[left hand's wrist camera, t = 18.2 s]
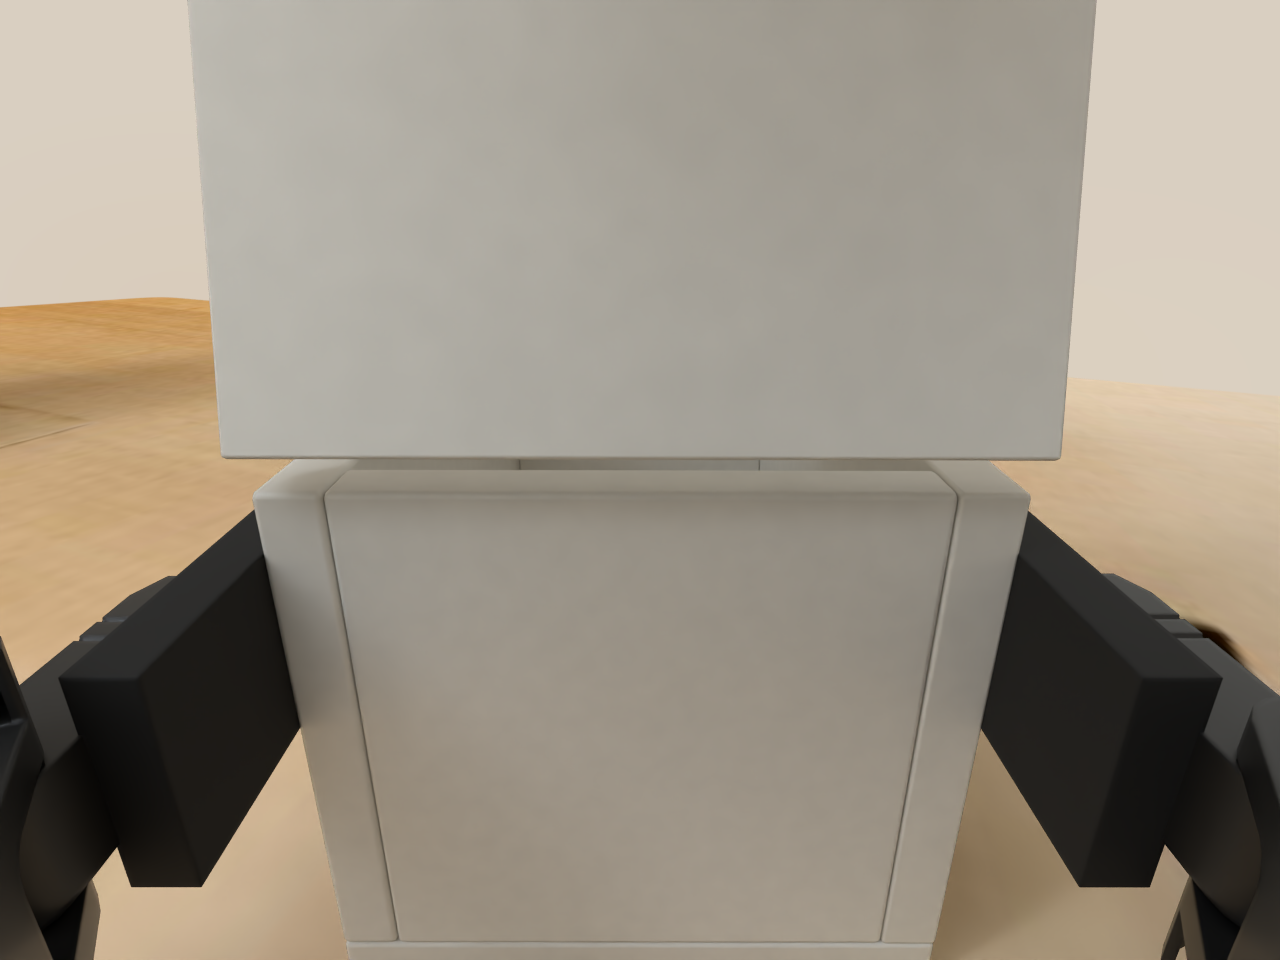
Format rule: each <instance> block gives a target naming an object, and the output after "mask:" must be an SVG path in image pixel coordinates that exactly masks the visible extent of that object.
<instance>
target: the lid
mask: <svg viewBox="0 0 1280 960" xmlns="http://www.w3.org/2000/svg"><path fill="white" fill-rule="evenodd" d="M1096 1H1097V0H188V14H189V27H190V41H191V54H192V68H193V81H194V95H195V109H196V122H197V136H198V149H199V163H200V177H201V190H202V204H203V217H204V231H205V245H206V258H207V272H208V285H209V299H210V313H211V326H212V340H213V353H214V367H215V381H216V394H217V408H218V421H219V435H220V448H221V456H222V457H223V458H225V459H468V460H993V461H1055V460H1058V459H1060V457H1061V449H1062V436H1063V424H1064V411H1065V398H1066V385H1067V372H1068V359H1069V347H1070V334H1071V321H1072V308H1073V295H1074V283H1075V270H1076V257H1077V244H1078V231H1079V218H1080V206H1081V193H1082V180H1083V167H1084V155H1085V142H1086V129H1087V116H1088V103H1089V91H1090V78H1091V65H1092V52H1093V39H1094V26H1095V14H1096Z"/></svg>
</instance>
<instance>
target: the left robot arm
mask: <svg viewBox="0 0 1280 960" xmlns="http://www.w3.org/2000/svg"><path fill="white" fill-rule="evenodd" d="M299 729H300V724H299V719H298V714H297V709H296V705H295V700H294V695H293V690H292V686H291V681H290V676H289V671H288V666H287V662H286V657H285V652H284V647H283V643H282V638H281V633H280V628H279V624H278V619H277V614H276V609H275V605H274V600H273V595H272V590H271V585H270V581H269V576H268V571H267V566H266V562H265V557H264V552H263V547H262V543H261V538H260V533H259V528H258V524H257V519H256V514H255V509H254V510H253V511H252V512H251V513H250V514H248V515H247V516H246V517H245V518H244V519H243V520H241V521H240V522H239V523H238V524H237V525H236V526H234V527H233V528H232V529H231V530H230V531H229V532H227V533H226V534H225V535H224V536H223V537H222V538H220V539H219V540H218V541H217V542H216V543H215V544H213V545H212V546H211V547H210V548H209V549H208V550H206V551H205V552H204V553H203V554H202V555H201V556H199V557H198V558H197V559H196V560H195V561H194V562H192V563H191V564H190V565H189V566H188V567H187V568H185V569H184V570H183V571H182V572H181V573H180V574H178V575H177V576H167V577H165V578H163V579H161V580H159V581H157V582H155V583H153V584H151V585H149V586H147V587H145V588H143V589H141V590H139V591H137V592H135V593H133V594H131V595H130V596H128V597H127V598H126V599H125V600H123V601H122V602H121V603H120V604H119V605H117V606H116V607H115V608H114V609H112V610H111V611H110V612H109V613H108V614H106V615H105V616H104V617H103V621H102V622H97V623H95V624H94V625H93V626H92V627H90V628H89V629H88V630H87V631H85V632H84V633H83V634H82V635H81V636H80V639H79V641H73V642H72V643H71V644H70V645H68V646H67V647H66V648H65V649H63V650H62V651H61V652H60V653H59V654H57V655H56V656H55V657H54V658H52V659H51V660H50V661H49V662H47V663H46V664H45V665H44V666H43V667H41V668H40V669H39V670H38V671H36V672H35V673H34V674H33V675H32V676H30V677H29V678H28V679H27V680H25V681H24V682H23V683H22V684H21V685H19V684H18V681H17V678H16V676H15V673H14V670H13V668H12V665H11V662H10V660H9V657H8V654H7V652H6V649H5V646H4V644H3V641H2V638H1V636H0V960H93V958H94V952H95V945H96V938H97V931H98V924H99V918H100V905H99V899H98V894H97V891H96V889H95V886H94V883H93V881H92V878H93V877H94V876H95V874H96V873H97V872H98V871H99V869H100V868H101V867H102V865H103V864H104V863H105V862H106V860H107V859H108V858H109V857H110V855H111V854H112V853H113V851H114V850H115V849H116V848H118V851H119V854H120V856H121V859H122V862H123V865H124V868H125V871H126V874H127V876H128V879H129V882H130V885H131V887H202V885H203V884H204V882H205V881H206V879H207V877H208V876H209V874H210V872H211V871H212V869H213V868H214V866H215V864H216V863H217V861H218V860H219V858H220V856H221V855H222V853H223V851H224V850H225V848H226V847H227V845H228V843H229V842H230V840H231V839H232V837H233V835H234V834H235V832H236V830H237V829H238V827H239V826H240V824H241V822H242V821H243V819H244V818H245V816H246V814H247V813H248V811H249V809H250V808H251V806H252V805H253V803H254V801H255V800H256V798H257V797H258V795H259V793H260V792H261V790H262V788H263V787H264V785H265V784H266V782H267V780H268V779H269V777H270V776H271V774H272V772H273V771H274V769H275V767H276V766H277V764H278V763H279V761H280V759H281V758H282V756H283V755H284V753H285V751H286V750H287V748H288V746H289V745H290V743H291V742H292V740H293V738H294V737H295V735H296V734H297V732H298V730H299ZM981 729H982V731H983V732H984V734H985V736H986V737H987V739H988V740H989V742H990V744H991V745H992V747H993V748H994V750H995V752H996V753H997V755H998V757H999V758H1000V760H1001V761H1002V763H1003V765H1004V766H1005V768H1006V769H1007V771H1008V773H1009V774H1010V776H1011V778H1012V779H1013V781H1014V782H1015V784H1016V786H1017V787H1018V789H1019V790H1020V792H1021V794H1022V795H1023V797H1024V799H1025V800H1026V802H1027V803H1028V805H1029V807H1030V808H1031V810H1032V811H1033V813H1034V815H1035V816H1036V818H1037V819H1038V821H1039V823H1040V824H1041V826H1042V828H1043V829H1044V831H1045V832H1046V834H1047V836H1048V837H1049V839H1050V840H1051V842H1052V844H1053V845H1054V847H1055V849H1056V850H1057V852H1058V853H1059V855H1060V857H1061V858H1062V860H1063V861H1064V863H1065V865H1066V866H1067V868H1068V870H1069V871H1070V873H1071V874H1072V876H1073V878H1074V879H1075V881H1076V882H1077V884H1078V886H1079V887H1150V885H1151V882H1152V879H1153V876H1154V874H1155V871H1156V868H1157V865H1158V862H1159V859H1160V857H1161V854H1162V851H1163V848H1164V845H1166V846H1167V847H1168V849H1169V850H1170V851H1171V853H1172V854H1173V855H1174V856H1175V858H1176V859H1177V860H1178V861H1179V863H1180V864H1181V865H1182V866H1183V868H1184V869H1185V870H1186V872H1187V873H1188V874H1189V878H1188V881H1187V883H1186V886H1185V889H1184V891H1183V894H1182V897H1181V899H1180V902H1179V905H1178V907H1177V910H1176V913H1175V915H1174V918H1173V921H1172V923H1171V926H1170V929H1169V931H1168V934H1167V937H1166V939H1165V942H1164V945H1163V950H1162V956H1161V960H1175V959H1176V957H1177V954H1178V952H1179V949H1180V948H1182V947H1184V946H1185V949H1186V956H1187V960H1280V696H1279V695H1278V694H1276V693H1275V692H1274V691H1273V690H1272V689H1270V688H1269V687H1268V686H1267V685H1265V684H1264V683H1263V682H1262V681H1260V680H1259V679H1258V678H1257V677H1255V676H1254V675H1253V674H1252V673H1251V672H1249V671H1248V670H1247V669H1246V668H1244V667H1243V666H1242V665H1241V664H1239V663H1238V662H1237V661H1236V660H1234V659H1233V658H1232V657H1231V656H1229V655H1228V654H1227V653H1226V652H1225V651H1223V650H1222V649H1221V648H1220V647H1218V646H1217V645H1216V644H1215V643H1213V642H1212V641H1211V640H1210V639H1208V638H1203V637H1202V633H1201V632H1200V631H1199V630H1197V629H1196V628H1195V627H1194V626H1192V625H1191V624H1190V623H1189V622H1187V621H1186V620H1185V619H1180V618H1179V614H1178V613H1176V612H1175V611H1174V610H1173V609H1171V608H1170V607H1169V606H1168V605H1166V604H1165V603H1164V602H1163V601H1162V600H1160V599H1159V598H1158V597H1157V596H1155V595H1154V594H1153V593H1152V592H1150V591H1148V590H1146V589H1143V588H1141V587H1139V586H1137V585H1135V584H1133V583H1131V582H1129V581H1127V580H1125V579H1123V578H1121V577H1119V576H1117V575H1115V574H1101V573H1100V572H1099V571H1098V570H1097V569H1095V568H1094V567H1093V566H1092V565H1091V564H1090V563H1088V562H1087V561H1086V560H1085V559H1084V558H1083V557H1081V556H1080V555H1079V554H1078V553H1077V552H1076V551H1074V550H1073V549H1072V548H1071V547H1070V546H1069V545H1067V544H1066V543H1065V542H1064V541H1063V540H1062V539H1060V538H1059V537H1058V536H1057V535H1056V534H1055V533H1053V532H1052V531H1051V530H1050V529H1049V528H1048V527H1046V526H1045V525H1044V524H1043V523H1042V522H1041V521H1039V520H1038V519H1037V518H1036V517H1035V516H1034V515H1032V514H1031V513H1030V512H1029V511H1028V513H1027V518H1026V523H1025V527H1024V532H1023V537H1022V541H1021V546H1020V550H1019V554H1018V557H1017V561H1016V566H1015V571H1014V575H1013V580H1012V585H1011V589H1010V594H1009V599H1008V603H1007V608H1006V613H1005V617H1004V622H1003V627H1002V631H1001V636H1000V641H999V645H998V650H997V655H996V659H995V664H994V669H993V673H992V678H991V683H990V687H989V692H988V697H987V701H986V706H985V711H984V715H983V720H982V725H981Z"/></svg>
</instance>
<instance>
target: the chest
mask: <svg viewBox="0 0 1280 960" xmlns="http://www.w3.org/2000/svg"><path fill="white" fill-rule="evenodd" d="M1030 500H1031V499H1030V494H1029V493H1028V492H1026V491H1025V490H1024V489H1023V488H1021V487H1020V486H1019V485H1018V484H1017V483H1015V482H1014V481H1013V480H1012V479H1010V478H1009V477H1008V476H1007V475H1005V474H1004V473H1003V472H1002V471H1001V470H999V469H998V468H997V467H996V466H994V465H993V464H992V463H991V462H989V461H988V460H468V459H294V460H293V461H292V462H291V463H289V464H288V465H287V466H286V467H284V468H283V469H282V470H281V471H280V472H278V473H277V474H276V475H275V476H273V477H272V478H271V479H270V480H269V481H267V482H266V483H265V484H264V485H262V486H261V487H260V488H259V489H258V490H256V491H255V492H254V494H253V505H254V509H255V514H256V519H257V524H258V528H259V533H260V538H261V543H262V547H263V552H264V557H265V562H266V566H267V571H268V576H269V581H270V585H271V590H272V595H273V600H274V605H275V609H276V614H277V619H278V624H279V628H280V633H281V638H282V643H283V647H284V652H285V657H286V662H287V666H288V671H289V676H290V681H291V686H292V690H293V695H294V700H295V705H296V709H297V714H298V719H299V724H300V728H301V733H302V738H303V743H304V747H305V752H306V757H307V762H308V767H309V771H310V776H311V781H312V786H313V790H314V795H315V800H316V805H317V809H318V814H319V819H320V824H321V828H322V833H323V838H324V843H325V847H326V852H327V857H328V862H329V867H330V871H331V876H332V881H333V886H334V890H335V895H336V900H337V905H338V909H339V914H340V919H341V924H342V928H343V933H344V938H345V939H346V940H347V942H346V948H347V953H348V957H349V960H930V957H931V953H932V948H933V942H934V941H935V938H936V934H937V929H938V924H939V920H940V915H941V910H942V906H943V901H944V897H945V892H946V887H947V883H948V878H949V874H950V869H951V864H952V860H953V855H954V850H955V846H956V841H957V837H958V832H959V827H960V823H961V818H962V814H963V809H964V804H965V800H966V795H967V790H968V786H969V781H970V777H971V772H972V767H973V763H974V758H975V754H976V749H977V744H978V740H979V735H980V730H981V725H982V720H983V715H984V711H985V706H986V701H987V697H988V692H989V687H990V683H991V678H992V673H993V669H994V664H995V659H996V655H997V650H998V645H999V641H1000V636H1001V631H1002V627H1003V622H1004V617H1005V613H1006V608H1007V603H1008V599H1009V594H1010V589H1011V585H1012V580H1013V575H1014V571H1015V566H1016V561H1017V557H1018V554H1019V550H1020V546H1021V541H1022V537H1023V532H1024V527H1025V523H1026V518H1027V513H1028V509H1029V504H1030Z"/></svg>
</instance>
